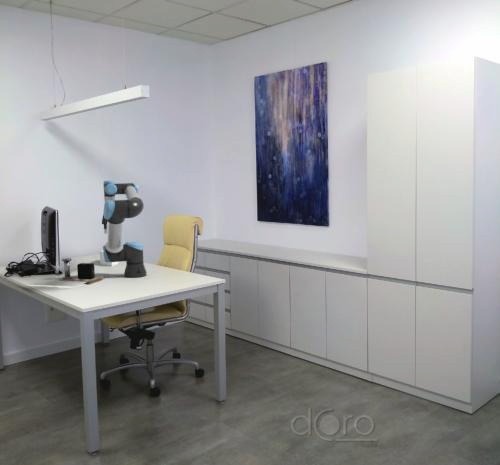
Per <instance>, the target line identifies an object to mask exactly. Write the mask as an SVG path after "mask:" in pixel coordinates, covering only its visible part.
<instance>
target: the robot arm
mask: <svg viewBox="0 0 500 465" xmlns="http://www.w3.org/2000/svg"><path fill="white" fill-rule="evenodd" d="M138 193H139V185H138V183H135V182H129V183H128V182H127V183H126V182H125V183H124V182H123V183H116V182H115V181H114V180H104V181H103V196H104V197H103V198H104V199H103V202H104V205H103V215H102V219H101V224H102V225H103V233H104V235H107V242H106V243H105V245H103V246H102V250H103V252H104V258H105V261H106V262H119V263H120V262H125V264H126V265H125V269H124V272H123V274H124V275H123V276H124V277H125V278H142V277H146V276H148V275H147V270H146V267H145V264H144V262H145V261H144V247H143V246H144V245H143V244H142V243H141V242H137V241H125V243H124V244H123V243H122V235H123V234H122V231H123V230H122V229H123V223H124V222H125V219H133V218H136V217H139V215H140V214H141V213H142V212H143V210H144V201H143V200H142V198H140V196H139V194H138ZM116 195H125V197H126V199H117V200H116Z"/></svg>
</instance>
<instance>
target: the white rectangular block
mask: <svg viewBox="0 0 500 465" xmlns="http://www.w3.org/2000/svg"><path fill="white" fill-rule="evenodd" d="M99 260H100V261H99V262H100V265H102V266H107V267H114V266H116V265H118V264H119V263H120V262H106V261H105V258H104V252H103V249H102V250H100V251H99Z"/></svg>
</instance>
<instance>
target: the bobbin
mask: <svg viewBox="0 0 500 465" xmlns="http://www.w3.org/2000/svg"><path fill="white" fill-rule="evenodd" d="M71 261H72V258H70V257H69V258H61V262H63V270H64V273H63V274H64V276H63V277H62V278H63V279H72V276H73V275H71Z"/></svg>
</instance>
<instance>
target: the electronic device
mask: <svg viewBox="0 0 500 465" xmlns="http://www.w3.org/2000/svg"><path fill="white" fill-rule="evenodd" d="M76 267H77V268H76V269H77V276H78V279H90V280H91V279H93V278H95V277H96V276H95V275H96V274H95V264H94V263H92V262H91V263H90V262H81V263H78V264H77V266H76Z"/></svg>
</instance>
